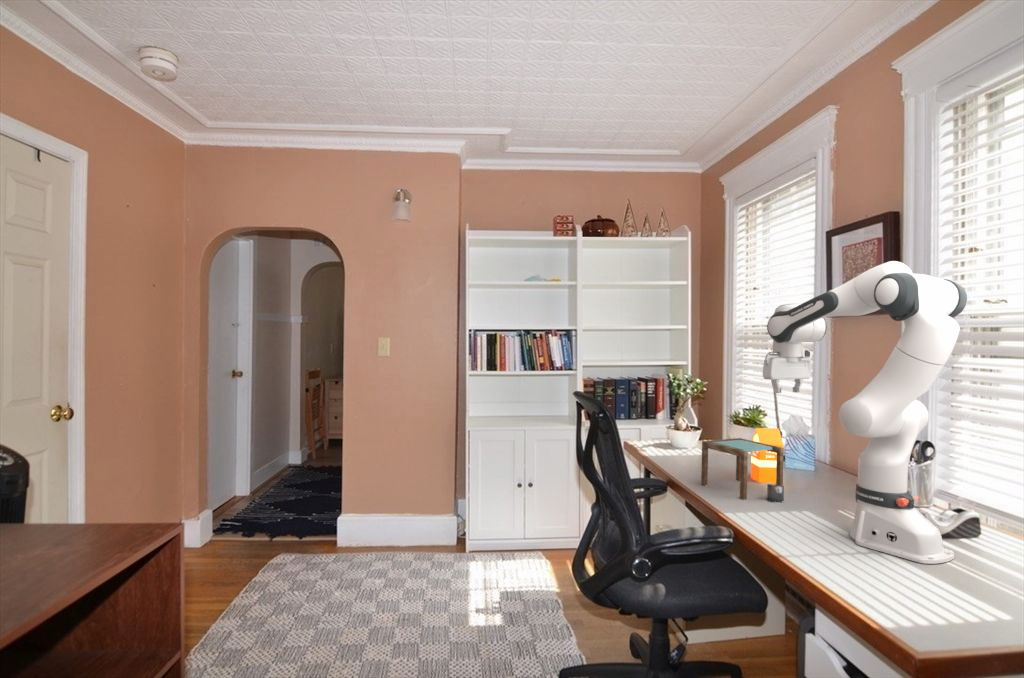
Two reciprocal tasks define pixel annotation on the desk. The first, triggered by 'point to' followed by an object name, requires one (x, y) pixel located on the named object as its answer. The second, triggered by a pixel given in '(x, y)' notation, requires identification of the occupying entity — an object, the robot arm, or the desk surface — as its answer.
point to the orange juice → (765, 455)
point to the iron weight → (775, 492)
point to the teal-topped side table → (739, 462)
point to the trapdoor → (744, 445)
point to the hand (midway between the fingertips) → (787, 392)
